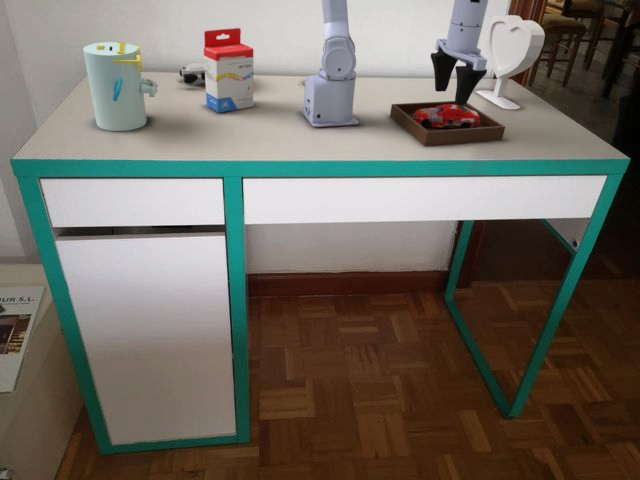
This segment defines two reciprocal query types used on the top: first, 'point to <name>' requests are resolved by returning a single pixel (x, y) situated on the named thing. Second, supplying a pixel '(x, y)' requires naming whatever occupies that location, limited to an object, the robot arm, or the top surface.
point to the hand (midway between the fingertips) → (450, 97)
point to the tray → (442, 136)
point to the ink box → (228, 71)
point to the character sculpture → (117, 85)
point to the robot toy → (192, 74)
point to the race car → (447, 117)
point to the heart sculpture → (510, 52)
